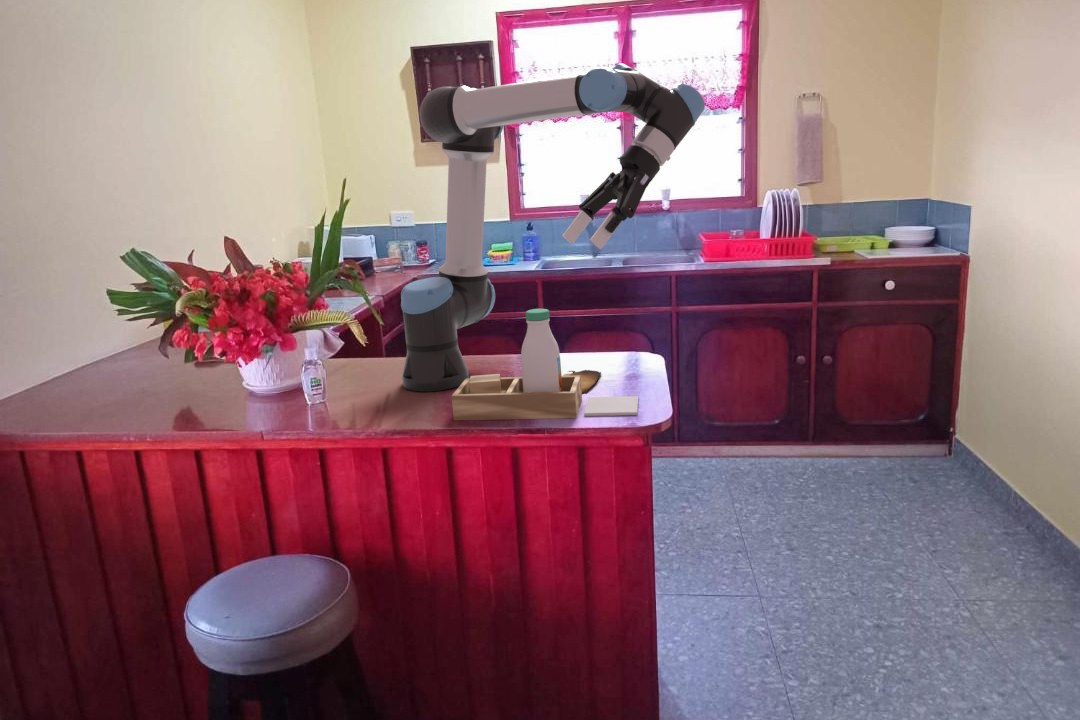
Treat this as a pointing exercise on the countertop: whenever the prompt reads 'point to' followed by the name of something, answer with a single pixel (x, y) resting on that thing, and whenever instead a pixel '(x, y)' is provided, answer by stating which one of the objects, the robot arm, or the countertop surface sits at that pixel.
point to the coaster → (612, 406)
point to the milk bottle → (540, 355)
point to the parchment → (586, 378)
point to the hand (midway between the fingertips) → (580, 242)
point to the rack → (518, 401)
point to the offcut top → (485, 384)
